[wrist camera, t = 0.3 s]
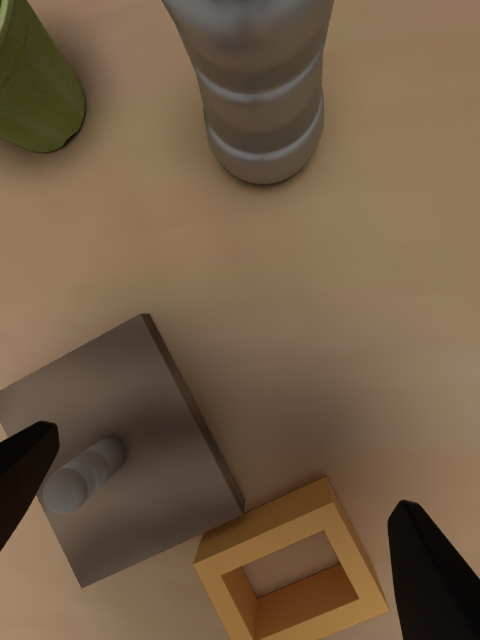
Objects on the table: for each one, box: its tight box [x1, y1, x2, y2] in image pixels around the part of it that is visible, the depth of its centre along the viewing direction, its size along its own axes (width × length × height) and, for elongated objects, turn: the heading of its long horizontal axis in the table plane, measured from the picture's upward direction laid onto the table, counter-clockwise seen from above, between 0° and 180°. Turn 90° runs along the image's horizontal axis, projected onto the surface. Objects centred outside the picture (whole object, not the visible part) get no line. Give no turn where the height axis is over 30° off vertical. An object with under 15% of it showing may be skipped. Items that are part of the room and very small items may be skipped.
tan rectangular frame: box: [193, 476, 390, 640], centre depth 21 cm, size 7×9×3 cm
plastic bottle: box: [162, 0, 334, 184], centre depth 12 cm, size 6×7×20 cm
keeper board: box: [0, 314, 245, 588], centre depth 20 cm, size 14×12×7 cm
